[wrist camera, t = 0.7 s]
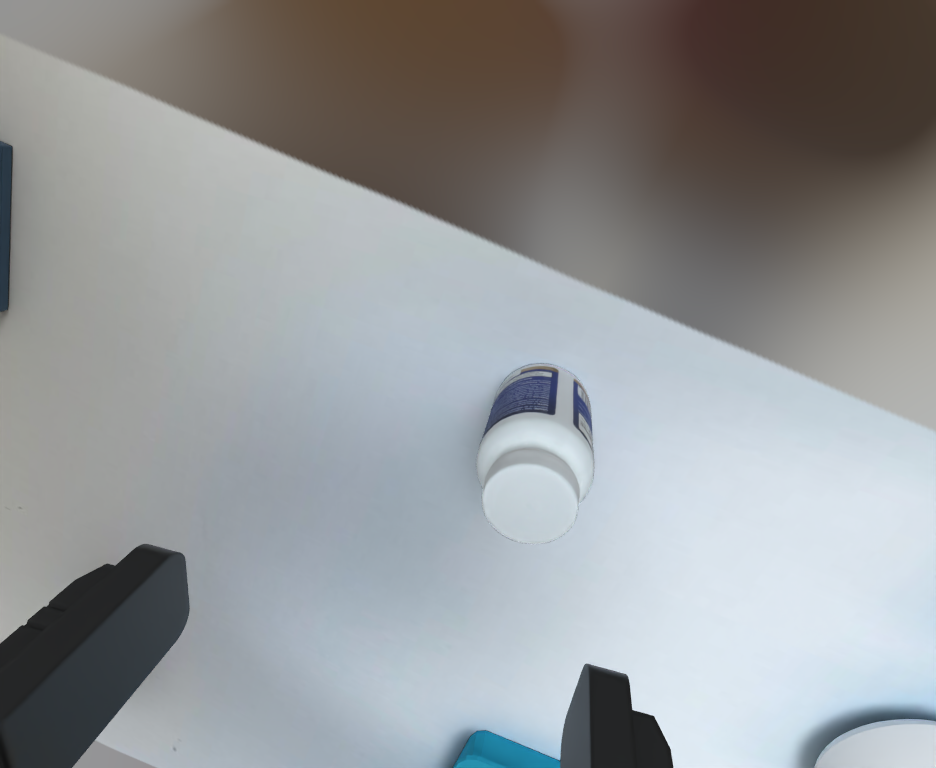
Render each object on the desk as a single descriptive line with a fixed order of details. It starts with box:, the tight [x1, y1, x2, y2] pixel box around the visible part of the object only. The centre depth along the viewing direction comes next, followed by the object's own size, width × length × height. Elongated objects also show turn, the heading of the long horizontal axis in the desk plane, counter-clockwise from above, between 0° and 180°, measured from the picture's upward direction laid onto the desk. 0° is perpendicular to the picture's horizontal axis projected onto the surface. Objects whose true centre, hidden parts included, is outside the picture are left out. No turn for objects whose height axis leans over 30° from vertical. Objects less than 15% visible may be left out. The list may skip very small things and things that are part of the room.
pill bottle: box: [476, 364, 594, 544], centre depth 27 cm, size 5×5×10 cm
